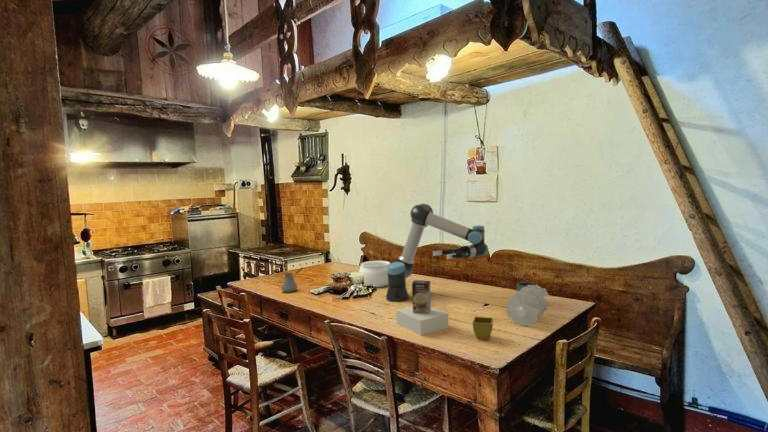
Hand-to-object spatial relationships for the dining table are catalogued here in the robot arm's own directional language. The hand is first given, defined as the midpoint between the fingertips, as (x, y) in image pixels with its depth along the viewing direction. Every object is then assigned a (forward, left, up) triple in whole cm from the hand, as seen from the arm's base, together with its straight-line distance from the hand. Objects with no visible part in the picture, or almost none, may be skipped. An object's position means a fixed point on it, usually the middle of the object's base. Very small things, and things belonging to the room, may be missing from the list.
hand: (440, 255), depth 243 cm
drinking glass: (+36, +37, -32) cm, 61 cm away
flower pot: (+45, -29, -32) cm, 62 cm away
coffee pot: (-113, -31, -32) cm, 121 cm away
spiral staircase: (+51, +7, -32) cm, 61 cm away
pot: (-74, +17, -32) cm, 82 cm away
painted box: (+11, -33, -32) cm, 47 cm away
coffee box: (+11, -33, -24) cm, 42 cm away
